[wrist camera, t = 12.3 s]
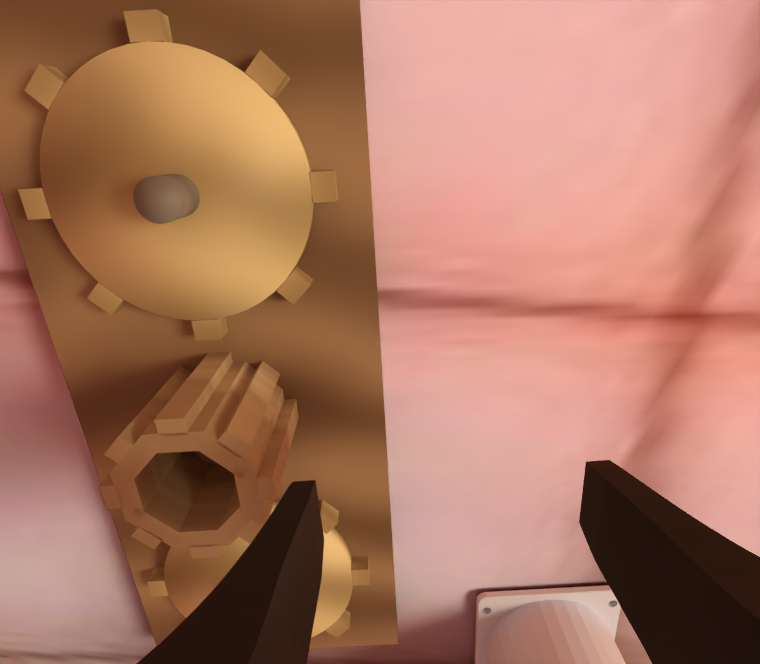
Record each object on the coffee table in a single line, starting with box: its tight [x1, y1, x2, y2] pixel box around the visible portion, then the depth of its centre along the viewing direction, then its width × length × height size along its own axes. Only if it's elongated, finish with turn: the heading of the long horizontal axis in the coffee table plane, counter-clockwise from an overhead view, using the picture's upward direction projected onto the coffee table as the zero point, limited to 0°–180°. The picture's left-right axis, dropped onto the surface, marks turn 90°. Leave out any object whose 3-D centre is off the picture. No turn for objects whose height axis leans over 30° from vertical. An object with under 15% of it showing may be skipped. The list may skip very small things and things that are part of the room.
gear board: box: [0, 0, 398, 649], centre depth 19 cm, size 30×13×4 cm, turn 3°
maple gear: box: [99, 351, 299, 558], centre depth 17 cm, size 6×6×5 cm
